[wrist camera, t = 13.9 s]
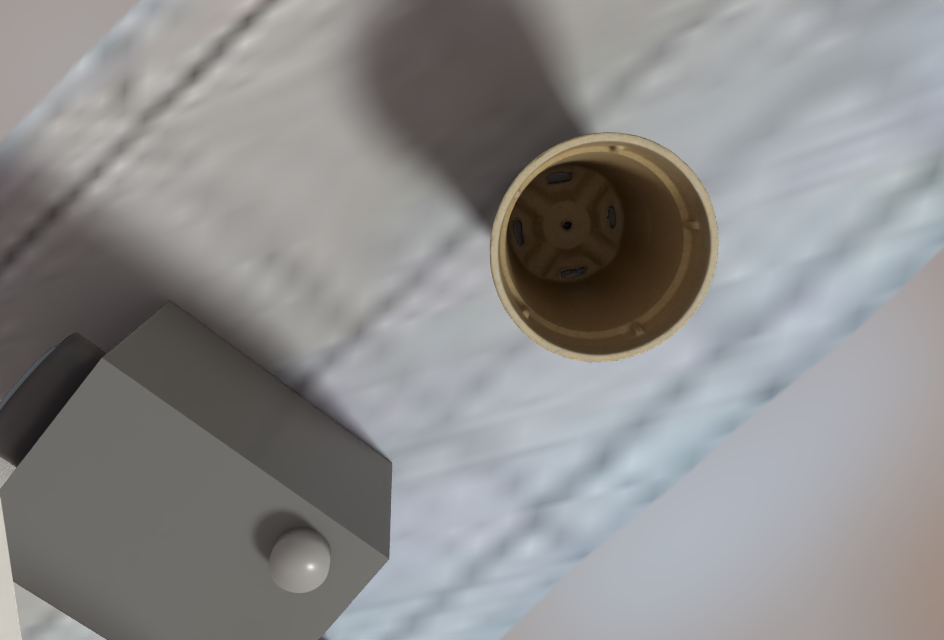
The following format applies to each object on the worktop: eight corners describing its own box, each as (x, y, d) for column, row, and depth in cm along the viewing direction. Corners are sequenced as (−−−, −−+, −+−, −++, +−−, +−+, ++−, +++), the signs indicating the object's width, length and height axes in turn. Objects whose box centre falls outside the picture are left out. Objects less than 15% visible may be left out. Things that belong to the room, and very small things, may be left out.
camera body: (392, 463, 46) (388, 571, 35) (274, 600, 47) (237, 744, 37) (130, 271, 42) (39, 327, 32) (11, 426, 44) (-114, 529, 33)
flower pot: (597, 88, 42) (646, 84, 34) (692, 247, 44) (759, 281, 36) (436, 196, 43) (444, 219, 34) (537, 348, 45) (568, 404, 37)
